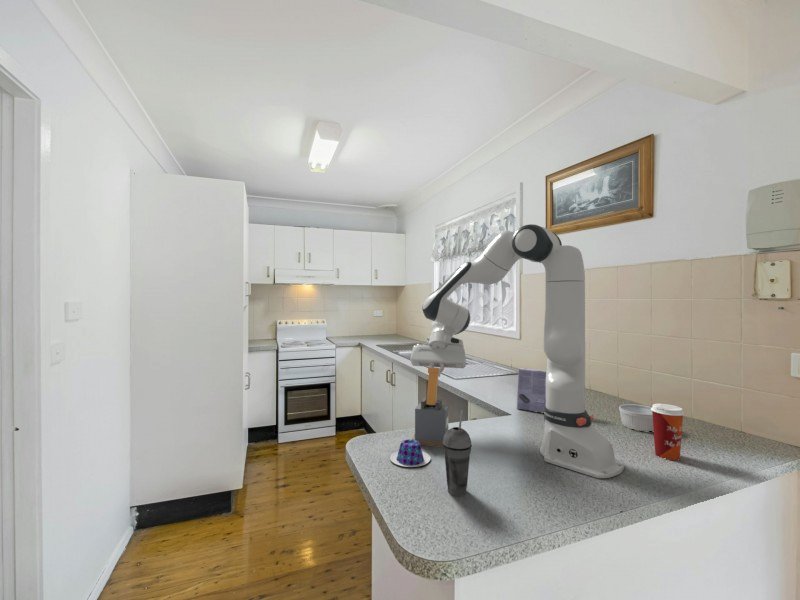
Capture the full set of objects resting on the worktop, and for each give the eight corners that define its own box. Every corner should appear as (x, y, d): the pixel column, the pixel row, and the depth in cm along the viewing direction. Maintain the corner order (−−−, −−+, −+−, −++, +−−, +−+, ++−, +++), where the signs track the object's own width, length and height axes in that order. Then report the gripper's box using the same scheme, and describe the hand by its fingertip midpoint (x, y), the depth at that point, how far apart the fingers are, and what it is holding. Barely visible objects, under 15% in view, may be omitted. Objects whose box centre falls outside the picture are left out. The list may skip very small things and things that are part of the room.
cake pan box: (566, 414, 150) (566, 371, 150) (564, 417, 146) (564, 373, 146) (519, 406, 160) (519, 367, 160) (516, 409, 156) (516, 368, 156)
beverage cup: (439, 484, 92) (439, 406, 92) (467, 483, 93) (467, 405, 93) (445, 499, 85) (445, 415, 85) (475, 498, 86) (475, 414, 86)
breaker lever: (426, 407, 120) (429, 369, 126) (436, 408, 119) (439, 369, 125) (424, 406, 118) (428, 367, 124) (435, 407, 117) (438, 367, 123)
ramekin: (622, 431, 131) (622, 411, 131) (616, 419, 143) (616, 402, 143) (666, 436, 126) (666, 416, 126) (656, 424, 138) (656, 406, 138)
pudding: (436, 456, 110) (436, 438, 110) (421, 473, 99) (421, 453, 99) (400, 449, 115) (400, 432, 115) (382, 464, 104) (382, 446, 104)
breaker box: (417, 435, 126) (417, 395, 126) (451, 438, 123) (451, 397, 123) (411, 443, 118) (411, 401, 118) (448, 447, 115) (448, 404, 115)
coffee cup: (675, 464, 104) (675, 412, 104) (645, 453, 111) (645, 405, 111) (690, 458, 108) (690, 408, 108) (660, 448, 115) (660, 401, 115)
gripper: (412, 338, 137) (405, 368, 128) (466, 340, 132) (463, 372, 122) (414, 348, 142) (408, 378, 132) (467, 350, 136) (465, 382, 127)
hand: (435, 375), depth 127 cm, fingers closed
